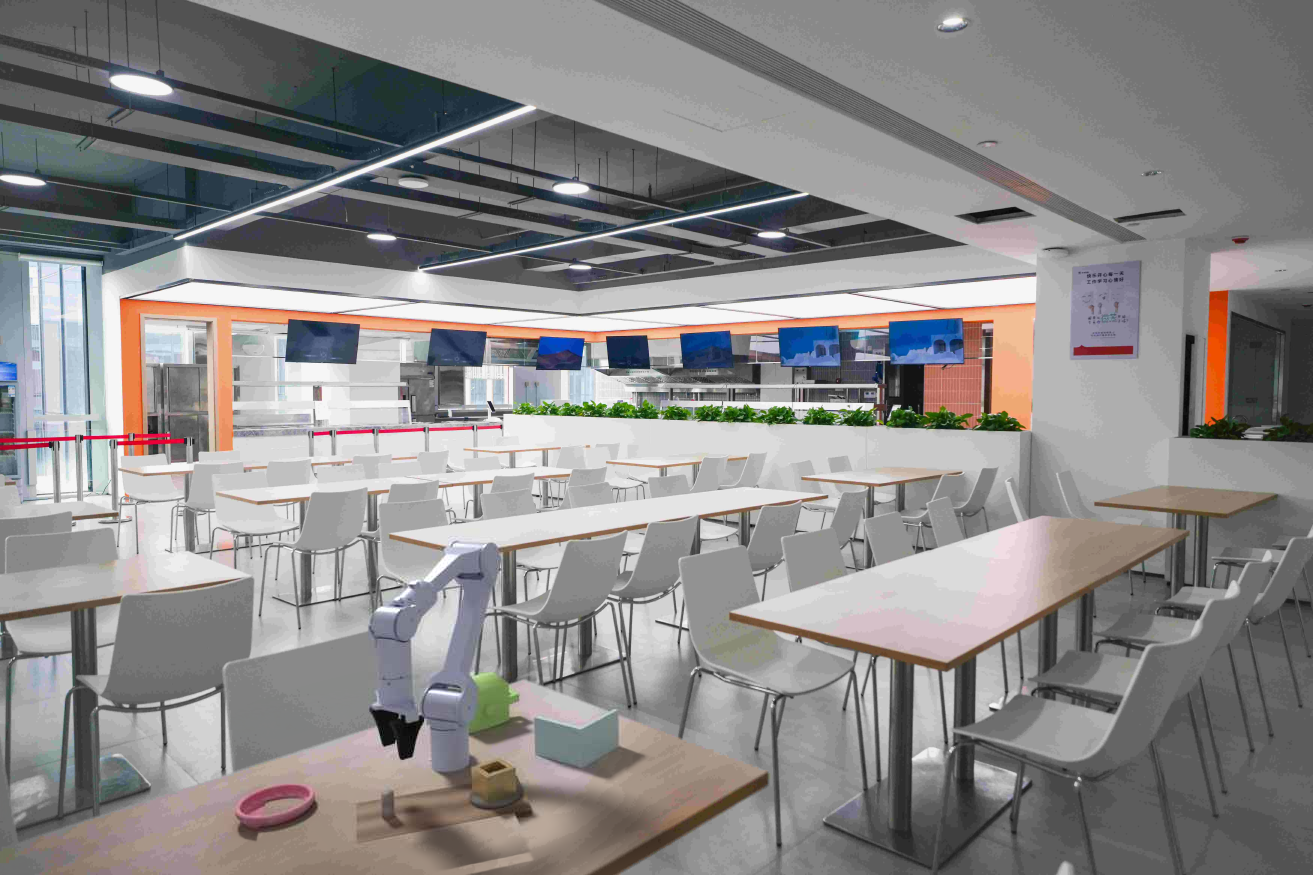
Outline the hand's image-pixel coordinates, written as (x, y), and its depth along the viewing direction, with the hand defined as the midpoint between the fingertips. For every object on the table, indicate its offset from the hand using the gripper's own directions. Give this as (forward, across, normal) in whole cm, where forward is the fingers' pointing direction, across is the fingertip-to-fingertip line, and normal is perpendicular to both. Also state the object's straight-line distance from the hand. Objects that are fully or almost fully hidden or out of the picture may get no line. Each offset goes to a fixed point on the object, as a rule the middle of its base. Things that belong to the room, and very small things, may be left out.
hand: (397, 751), depth 142 cm
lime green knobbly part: (+10, -23, +28) cm, 38 cm away
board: (+9, +8, +4) cm, 13 cm away
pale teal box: (+10, +3, +36) cm, 38 cm away
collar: (+8, +11, +13) cm, 19 cm away
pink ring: (+10, -11, -17) cm, 23 cm away
